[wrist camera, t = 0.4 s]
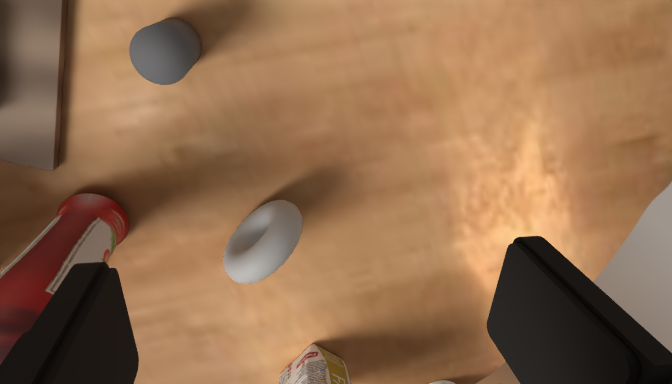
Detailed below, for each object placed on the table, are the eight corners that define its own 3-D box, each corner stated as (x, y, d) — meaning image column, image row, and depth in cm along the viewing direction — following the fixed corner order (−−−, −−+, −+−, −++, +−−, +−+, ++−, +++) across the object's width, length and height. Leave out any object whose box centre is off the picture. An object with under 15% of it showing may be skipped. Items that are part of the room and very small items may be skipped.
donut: (241, 250, 49) (237, 308, 40) (220, 232, 47) (210, 289, 39) (305, 199, 47) (315, 249, 38) (284, 179, 46) (290, 226, 37)
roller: (154, 11, 36) (133, 17, 30) (205, 27, 37) (195, 36, 31) (148, 60, 38) (126, 75, 32) (196, 74, 39) (185, 91, 33)
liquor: (135, 247, 46) (-7, 545, 22) (62, 242, 45) (-180, 559, 20) (134, 189, 43) (-33, 461, 19) (56, 182, 42) (-239, 470, 17)
